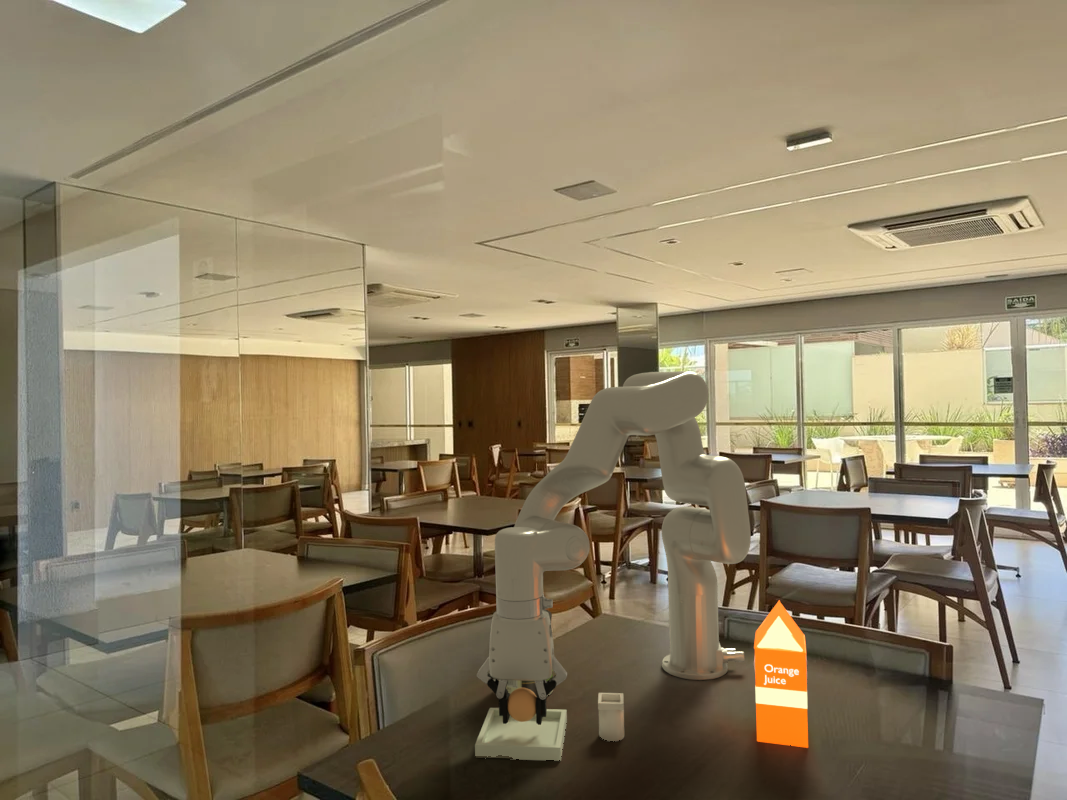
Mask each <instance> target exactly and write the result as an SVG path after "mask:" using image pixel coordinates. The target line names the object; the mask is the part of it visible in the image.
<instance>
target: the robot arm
mask: <svg viewBox="0 0 1067 800" xmlns="http://www.w3.org/2000/svg"><path fill="white" fill-rule="evenodd" d="M708 401H709V388H708V385H707V382H706V381H705V379H704V378H703V377H702V375H700V374H699V373H696V372H694V371H690V370H676V371H649V372H641V373H637V374H633V375H631V376H629V377H628V378H626V379H625V381H624V382H623V384H622V386H614V387H606V388H604V389H601V390H598V392H596V393H595V395H594V396H593V397H592V399H591V400H590V403H589V405H588V408H587V409H586V411H585V414H584V417H583V419H582V420H581V423H580V425H579V428H578V430H577V432H576V434H575V436H574V439H573V441H572V443H571V445H570V447H569V449H568V452H567V453H566V455H565V456H564V459H563V460H562V461H561V462H559V463H558V464H557V465H556V466H555V467H553V468H552V469H551V470H550V471H549V472H548V473H547V474H546V475H545V476H544V477H543V478H541V480H540V481H539V482H538V483H536V485H535V486H534V487H533V489H531V491H530V492H529V493H528V496H527V497H526V499H525V500H524V503H523V505H522V507H521V510H520V511H519V513H518V515H517V518H516V521H515V523H514V526H513V527H512V526H511V527H506V528H502V529H500V530H498V532H496V534H495V537H494V562H495V569H494V570H495V598H496V599H495V601H496V602H495V603H496V605H495V606H496V611H495V612H493V615H492V619H491V625H490V634H489V644H488V645H489V646H488V647H489V651H488V657H487V658H486V660H485V661H484V663H482V665H481V666H480V668H479V669H478V671H477V673H476V677H477V678H478V679H479V680H481V682H483V683H484V684H486V685H487V686H488V688H489V689H490V690H491V691H492V692H493V693H495V696H496V698H497V699H498V708H499V716H503V724H506V723H508V720H509V717H510V714H509V712H508V708H507V703H508V697H509V695H510V693H508V690H507V689H506V688H507V683H508V680H520V681H535V684H536V688H537V691H538V694H537V698H536V723H537V724H538V725H541V723H542V718H543V717H546V713H547V709H548V708H547V697H548V696H547V695H548V694H549V693H550V692H551V691H552V690H553V691H554V690H555V689H556V687H557V686H558V685H560V684H561V683H563V682H564V681H565V680H567V678H568V671H566V669H565V668H564V667H563V665H562V664H561V662H559V660H558V659H557V658H556V656H555V652H554V651H555V648H554V639H553V630H552V629H553V628H552V621H551V622H550V617H549V613H548V612H546V611H545V609H546V610H549V609H553V603H554V602H553V601H554V600H553V598H547V597H546V596H545V594H544V572H546V571H549V572H550V571H569V570H572V569H575V568H578V567H579V566H580V565H582V563H584V562H585V560H586V559H587V557H588V556H589V554H590V540H589V536H588V534H586V532H585V531H584V530H583V529H582V528H581V527H579V526H578V525H575V524H573V523H568V522H565V521H559V520H555V519H556V518H557V515H558V514H559V513H560V511H561V510H562V508H563V507H564V506H566V505H567V503H569V501H571V500H573V498H575V497H577V496H579V495H581V494H583V493H585V492H588V491H590V490H593V489H595V488H597V487H599V486H602V485H603V484H605V483H607V482H608V481H610V479H611V477H612V475H613V474H614V470H615V469H616V466H617V464H618V462H619V459H620V456H621V454H622V452H623V449H624V447H625V444H627V441H628V438H629V437H630V436H655V440H656V445H657V450H658V451H657V452H658V457H659V465H660V473H661V478H662V486H663V489H664V492H665V495H666V496H667V498H669V499H670V500H672V501H674V502H678V503H683V504H688V505H689V504H691V505H696V506H697V505H698V506H704V507H708V508H709V509H707V508H700V507H690V506H684V507H683V506H682V507H677V508H673V509H672V510H670V511H669V512H668V513H667V514H666V515H665V516H664V518H663V520H662V521H663V522H662V525H661V539H662V544H663V549H664V553H665V557H666V565H667V580H668V581H667V582H668V583H667V584H668V585H667V586H668V587H667V589H668V590H667V591H668V624H669V625H668V627H669V630H668V631H669V632H668V635H669V636H668V637H669V653H668V654H667V655H665V656H664V657H663V659H662V661H661V666H662V669H663V671H665V672H666V673H668V674H669V675H672V676H674V677H677V678H681V679H686V680H697V681H702V680H703V681H706V680H707V681H708V680H713V679H717V678H720V677H723V676H725V674H726V673H727V672H728V670H729V668H728V662H735V663H745V652H744V651H736V648H732V647H731V648H724V647H722V646H721V643H720V641H719V640H720V637H719V635H720V633H719V631H720V630H719V592H718V591H719V588H718V587H719V586H718V585H719V584H718V577H717V572H716V570H715V566H714V565H713V563H712V562H715V563H720V564H726V565H733V564H734V565H735V564H738V563H741V562H742V561H744V559H746V557H747V555H748V554H749V552H750V548H751V541H752V540H751V538H752V537H751V523H750V515H749V506H748V499H747V489H746V484H745V479H744V475H743V472H742V470H741V468H740V467H739V465H738V464H737V463H736V462H735V461H734V460H732V459H731V458H728V457H726V456H721V455H708V454H706V453H705V450H704V446H703V440H702V435H701V430H700V426H699V423H698V421H697V419H696V418H697V417H698V416H699V415H700V414H701V413H702V412H703V411H704V409H705V408H706V406H707V403H708ZM552 669H553V673H554V675H553V677H552V678H550V677H551V675H552ZM549 678H550V679H549ZM547 679H549V680H548V681H547V682H546V680H547ZM546 696H547V697H546Z"/></svg>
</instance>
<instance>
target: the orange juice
mask: <svg viewBox="0 0 1067 800" xmlns="http://www.w3.org/2000/svg"><path fill="white" fill-rule="evenodd" d="M754 634H755V635H754V642H753V643H754V644H753V649H754V658H753V659H754V661H753V664H754V674H755V679H754V680H755V685H754V686H755V687H754V689H755V690H754V691H755V713H756V714H755V715H756V717H755V718H756V721H755V722H756V723H755V724H756V742H758V743H759V742H760V743H765V744H766V743H767V744H775V745H783V746H789V747H790V745H791V746H792V747H798V748H799V747H800V748H804V749H805V748H806V749H808V748H809V731H808V730H809V727H808V726H809V724H808V720H809V719H808V684H807V683H808V680H807V679H808V673H807V662H808V660H807V644H806V643H807V642H806V636H805V634H804V633H803V631H802V630H801V629H800V627H799V626H798V624H797V623H796V622H795V621H794V619H793V617H792V616H791V615H790V614H789V612H788V611H787V609H786V608H785V607H784V605H783V604H782V603H781V600H780V599H779V600H778V601H777V603H776V604H775V605H774V607H772V609H771V611H769V613H768V614H767V615H766V617H765V618H764V620H763V621H762V623H761V624H760V625H759V626H758V628H757V629H756V630H755V633H754Z"/></svg>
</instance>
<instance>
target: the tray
mask: <svg viewBox="0 0 1067 800" xmlns="http://www.w3.org/2000/svg"><path fill="white" fill-rule="evenodd" d="M546 709H547V713H546V717H543V718H542V723H541V725H538V724H537V723H536V714H535V716H534V717H533V718H532V719H530V720H528V721H525V722H520V721H517V720H515V719H513V718H512V717H511V715H510V717H509V720H508V723H506V724H503V716H499V707H489V709H488V711H487V714H486V717H485V718H484V721H483V724H482V727H481V729H480V731H479V734H478V736H477V738H476V741H475V744H474V757H475V756H487V757H488V756H491V757H496V756H498V755H502V756H509V757H512V758H513V759H512V760H516V759H519V760H520V761H521V760H523V761H526V760H527V761H546V760H554V761H553V762H561V761H562V757H563V750H564V744H563V743H564V742H565V737H564V736H566V731H565V729H566V730H567V724H568V712H567V711H568V710H567V709H559V708H558V709H553V708H552V709H551V708H546ZM566 723H567V724H566ZM562 749H563V750H562ZM561 756H562V757H561ZM559 760H560V761H559Z"/></svg>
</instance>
